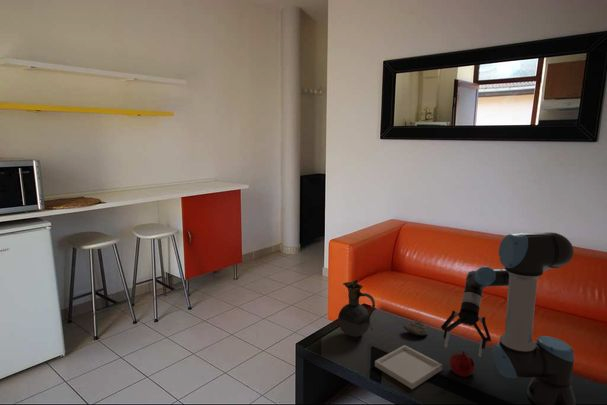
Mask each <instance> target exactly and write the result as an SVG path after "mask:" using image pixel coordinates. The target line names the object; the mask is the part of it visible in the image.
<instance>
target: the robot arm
mask: <svg viewBox="0 0 607 405" xmlns="http://www.w3.org/2000/svg"><path fill="white" fill-rule="evenodd" d="M572 244H573V243H572V242H571V241H570V240H569V239H568V238H567V237H566V236H564V235H562V234H560V233H557V232H552V231H551V232H549V231H548V232H517V233H509V234H507V235H505V237H503V238H502V239H501V241H500V243H499V246H498V256H499V258H498V259H499V262H500V264H501V265H502V266H503V267H504V268H492V267H489V266H487V265H486V266H485V265H484V266H481V267H480V268H478V269H475V270H470V271H468V272H467V275H466V277H465V284H464V290H463V296H462V300H461V304H460V310H459V312H456V310H452V311H451V314H450V315H449V317H447V319H446V320H445V321H444V322H443V324H442V325H441V326H440V328H441V330H442V331H443V332H444V333H443V339H444V340H445V341H444V343H443V344H444V348H446V349H447V348H448V346H449V340H450V332H451V331H452V330H454V329H455V328H457V327H458V326H460V325H461V324H463V325H465V326H470V327H472V326H473V327H474V328H475V330H476V332H477V333H478V335H479V336H480V338H481V339H480V342H479V348H478V354H477V355H478V357H479V358H481V357H482V352H483V350H485V349H486V345H487V342H492V337H491V335H490V332H489V328H488V326H487V324H486V322H487V321H486V317H485V316H483V317H479V314H480V306H481V302H482V296H483V292H484V289H486V288H487V287H492V288H493V287H508V288H507V299H506V300H507V301H506V312H505V313H506V314H505V315H506V316H505V328H504V333H502V334H501V335H500V336H499V342H498V343H494V344H493V345H492V348H491V353H492V358H493V362H494V364H495V366H496V369H497V370H498V372H499V373H500V375H502V376H503V377H505V378H511V379H512V378H514V379H517V378H518V379H519V378H531V380H530V381H529V383H528V385H527V392H526V393H527V396H528V398H529V400H531V402H533V404H535V405H576V402H577V401H576V397H575V394H574V391H573V387H572V380H573V369H574V362H575V351H574V349H573V348H572V346H571V345H570V344H568V343H567V342H565V341H563V340H561V339H559V338H556V337H554V336H553V337H552V336H548V335H540V336H538V337H537V338H536V339H535V340H533V332H534V318H535V317H534V316H535V310H536V309H535V307H536V306H535V305H536V296H537V283H538V279H539V278H540V277H542V276H543V274H544V272H547V271H548V270H551V269H560V268H561V267H564V266H565V265H567V264H569V263H570V262H571V261H572V260H573V256H574V246H573V245H572ZM456 317H458V318H457V319H456V320H455V321H454V322H453V323H452V321H453V320H454V319H455V318H456ZM479 321H480V323H481V324H482V327H483V330H484V332H485V335H486V337H485V335H484V333H483V332H482V330H481V328H480V326H479V325H478V324H477V322H479Z"/></svg>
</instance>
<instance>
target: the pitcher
mask: <svg viewBox="0 0 607 405" xmlns="http://www.w3.org/2000/svg"><path fill="white" fill-rule="evenodd" d="M359 282H360V280H359V279H355V280H352V281H350V282H349V281H348V282H343V283H342V285H344V286H345V287H346V288H347V290H348V296H347V297H348V304H345V305H344V306H342V307H341V309H340V310H339V313H338V316H337V317H338V318H337V322H338V325H339V326H338V327H340V329H341V331H342V332H343V333H344V334H346V338H347V339H348V340H352V341H360V340H362V339H363V335H365V333H366V332H367V331H368V330H369V328H370V329H371V330H372V331H374V328H373V326H372V325H371V316H372V314H373V312H374V309H375V307H376V301H375V298H374V296H372V295H371V294H369V293H367V292H363V293H362V292H361V289H363V287H364V285H362V284H359ZM361 297H366V298H368V299H370V301H371V306H372V307H371V311H370V313H369V310H368V309H367V308H366V307H365V306H364V305H362V304H360V298H361Z"/></svg>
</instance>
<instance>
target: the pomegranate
mask: <svg viewBox="0 0 607 405" xmlns="http://www.w3.org/2000/svg"><path fill="white" fill-rule="evenodd" d="M458 352H459V354H458V353H457V352H455V353H454V354H452V355H451V356H450V359H449V361H448V362H449V363H448V364H449V367H450V370H451V371H452V372H453V373H454V374H456V375H458V376H460V377H463V378H466V377H470V376H472V375H473V374H474V372H475V369H476V366H475V363H474V359H473V358H472V357H471V356H469V353H466V352H465V351H463V350H462V351H459V350H458Z"/></svg>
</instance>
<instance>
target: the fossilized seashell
mask: <svg viewBox="0 0 607 405" xmlns="http://www.w3.org/2000/svg"><path fill="white" fill-rule="evenodd" d="M402 326H403V329H404V330H405V331H407V332H408V333H409V334H412V335H416V336H421V337H422V336H423V337H424V336H427V335H428V334H429V333H428V330H427V327H426V326H425V324H424V323H423V322H421V321H414V322H410V323H405V324H404V325H402Z"/></svg>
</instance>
